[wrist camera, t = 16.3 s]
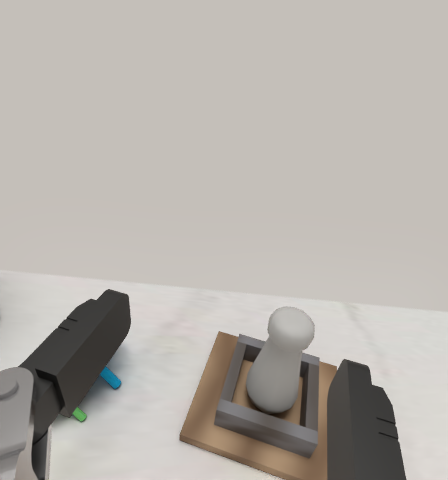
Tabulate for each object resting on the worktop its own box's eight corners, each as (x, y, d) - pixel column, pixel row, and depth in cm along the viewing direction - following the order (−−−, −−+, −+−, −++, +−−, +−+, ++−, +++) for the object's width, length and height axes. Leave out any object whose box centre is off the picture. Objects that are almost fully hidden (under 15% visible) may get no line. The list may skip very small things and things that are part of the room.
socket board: (179, 440, 32) (180, 419, 30) (218, 337, 43) (221, 316, 41) (337, 498, 29) (351, 480, 27) (333, 371, 41) (344, 351, 38)
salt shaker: (276, 435, 32) (308, 357, 25) (233, 399, 35) (250, 319, 28) (301, 395, 36) (335, 318, 29) (260, 365, 39) (282, 288, 32)
